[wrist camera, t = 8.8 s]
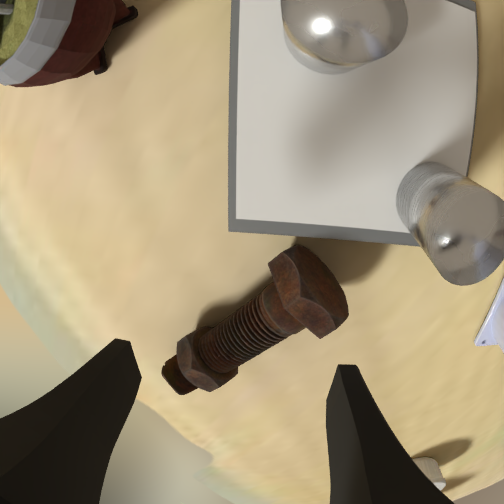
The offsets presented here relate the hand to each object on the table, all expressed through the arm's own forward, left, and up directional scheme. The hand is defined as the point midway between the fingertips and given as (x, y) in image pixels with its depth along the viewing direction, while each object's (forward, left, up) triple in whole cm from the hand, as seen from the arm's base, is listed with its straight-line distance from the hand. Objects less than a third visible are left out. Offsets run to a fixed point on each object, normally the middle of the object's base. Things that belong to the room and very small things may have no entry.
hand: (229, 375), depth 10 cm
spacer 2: (-9, -5, -8) cm, 13 cm away
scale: (-5, -10, -10) cm, 15 cm away
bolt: (+1, +6, -11) cm, 13 cm away
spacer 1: (-3, -12, -8) cm, 15 cm away
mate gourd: (+11, -14, -11) cm, 21 cm away
